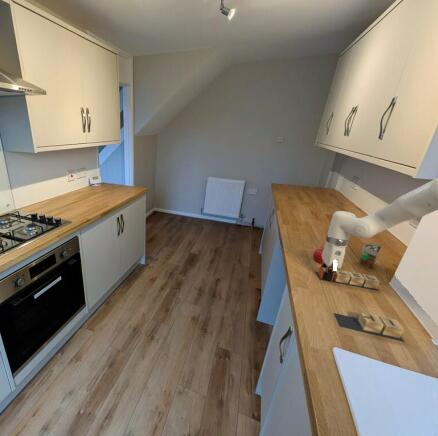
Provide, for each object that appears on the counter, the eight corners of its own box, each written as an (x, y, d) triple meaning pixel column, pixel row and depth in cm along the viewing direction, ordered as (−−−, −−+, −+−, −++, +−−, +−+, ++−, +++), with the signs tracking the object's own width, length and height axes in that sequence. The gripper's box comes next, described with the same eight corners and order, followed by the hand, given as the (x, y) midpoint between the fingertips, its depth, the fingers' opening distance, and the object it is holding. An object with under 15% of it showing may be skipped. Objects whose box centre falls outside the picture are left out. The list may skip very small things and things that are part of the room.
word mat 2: (392, 327, 80) (393, 326, 80) (404, 343, 74) (405, 342, 74) (332, 314, 86) (333, 312, 85) (339, 328, 80) (339, 326, 79)
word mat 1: (370, 282, 104) (371, 281, 103) (378, 292, 98) (379, 291, 97) (314, 272, 111) (315, 271, 110) (319, 281, 105) (319, 279, 104)
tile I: (392, 328, 79) (396, 319, 78) (399, 338, 75) (404, 329, 74) (375, 324, 80) (379, 315, 79) (382, 334, 76) (386, 325, 75)
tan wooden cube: (373, 324, 81) (377, 315, 79) (380, 333, 77) (384, 324, 75) (357, 320, 82) (361, 311, 81) (363, 329, 78) (367, 321, 77)
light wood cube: (371, 283, 102) (374, 275, 101) (376, 289, 99) (379, 281, 97) (359, 280, 104) (362, 273, 103) (363, 286, 100) (366, 279, 99)
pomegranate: (307, 259, 122) (311, 243, 119) (320, 256, 125) (325, 240, 122) (326, 269, 113) (332, 252, 110) (340, 265, 117) (346, 248, 114)
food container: (359, 257, 124) (365, 240, 121) (375, 262, 120) (382, 244, 116) (354, 265, 117) (360, 247, 113) (370, 271, 112) (377, 252, 109)
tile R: (343, 278, 106) (346, 271, 104) (347, 283, 102) (350, 276, 101) (332, 276, 107) (334, 269, 106) (335, 281, 103) (337, 274, 102)
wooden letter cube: (357, 280, 104) (360, 273, 103) (362, 286, 100) (364, 278, 99) (345, 278, 106) (348, 271, 104) (349, 284, 102) (352, 276, 100)
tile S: (329, 275, 108) (331, 268, 106) (332, 280, 104) (334, 273, 102) (317, 273, 109) (320, 266, 108) (320, 278, 105) (322, 271, 104)
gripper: (355, 250, 91) (341, 289, 98) (340, 234, 106) (328, 269, 113) (332, 247, 94) (320, 285, 100) (320, 231, 109) (310, 265, 115)
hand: (325, 276), depth 106 cm, fingers closed on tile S, 4 cm apart
